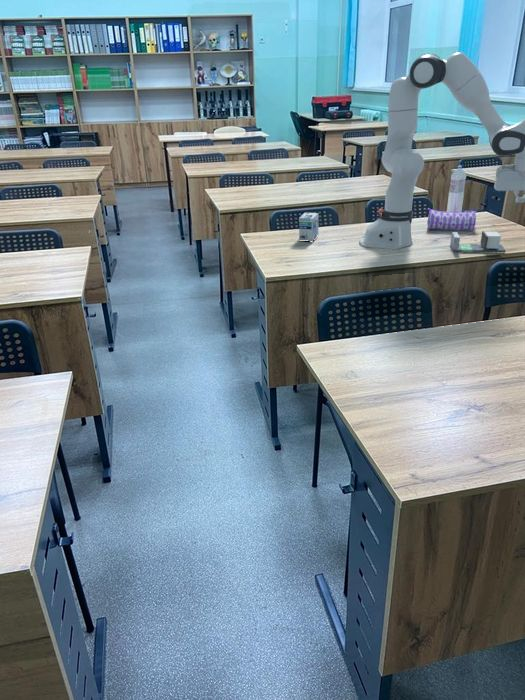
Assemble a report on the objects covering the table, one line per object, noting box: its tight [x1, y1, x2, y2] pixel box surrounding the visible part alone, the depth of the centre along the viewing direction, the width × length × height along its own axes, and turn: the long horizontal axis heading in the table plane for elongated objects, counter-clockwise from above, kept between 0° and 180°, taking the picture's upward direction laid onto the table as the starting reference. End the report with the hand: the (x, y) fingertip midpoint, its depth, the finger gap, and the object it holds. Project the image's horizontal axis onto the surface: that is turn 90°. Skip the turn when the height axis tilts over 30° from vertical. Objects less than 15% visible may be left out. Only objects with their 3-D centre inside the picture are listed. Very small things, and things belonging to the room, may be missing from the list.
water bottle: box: [446, 165, 467, 212], centre depth 252 cm, size 7×7×25 cm
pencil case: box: [426, 207, 478, 232], centre depth 239 cm, size 22×9×10 cm, turn 78°
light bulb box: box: [298, 212, 320, 241], centre depth 234 cm, size 11×7×11 cm, turn 161°
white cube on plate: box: [480, 230, 502, 249], centre depth 210 cm, size 6×8×5 cm, turn 170°
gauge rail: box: [449, 231, 506, 254], centre depth 212 cm, size 20×8×6 cm, turn 80°
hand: (519, 202), depth 202 cm, fingers closed
